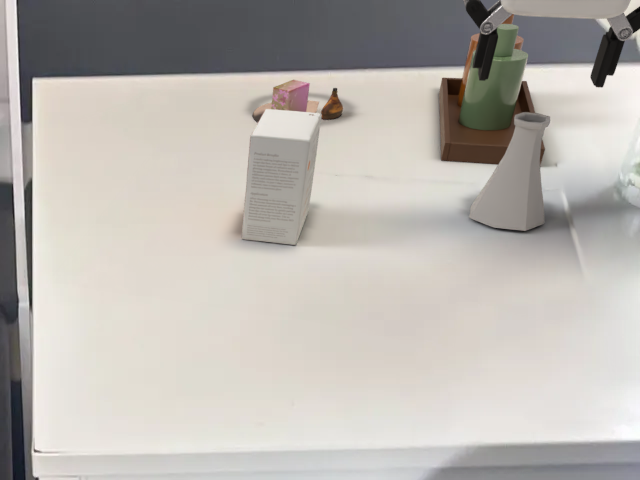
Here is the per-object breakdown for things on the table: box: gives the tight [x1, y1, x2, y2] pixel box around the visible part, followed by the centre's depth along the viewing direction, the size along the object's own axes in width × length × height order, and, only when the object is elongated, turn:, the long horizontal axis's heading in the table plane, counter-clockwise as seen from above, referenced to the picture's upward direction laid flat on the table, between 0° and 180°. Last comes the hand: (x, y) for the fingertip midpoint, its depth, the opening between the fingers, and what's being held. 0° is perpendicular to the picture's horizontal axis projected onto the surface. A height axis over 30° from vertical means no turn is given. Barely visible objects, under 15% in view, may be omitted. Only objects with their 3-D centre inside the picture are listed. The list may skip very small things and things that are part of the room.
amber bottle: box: [457, 14, 525, 107], centre depth 118 cm, size 6×6×11 cm
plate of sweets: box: [251, 79, 344, 123], centre depth 121 cm, size 12×12×4 cm
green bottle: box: [458, 23, 529, 130], centre depth 113 cm, size 6×6×11 cm
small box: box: [241, 109, 322, 246], centre depth 93 cm, size 8×6×10 cm
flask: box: [468, 112, 551, 232], centre depth 92 cm, size 7×7×10 cm
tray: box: [438, 77, 546, 167], centre depth 114 cm, size 10×25×3 cm, turn 162°
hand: (538, 79), depth 87 cm, fingers open, 9 cm apart
